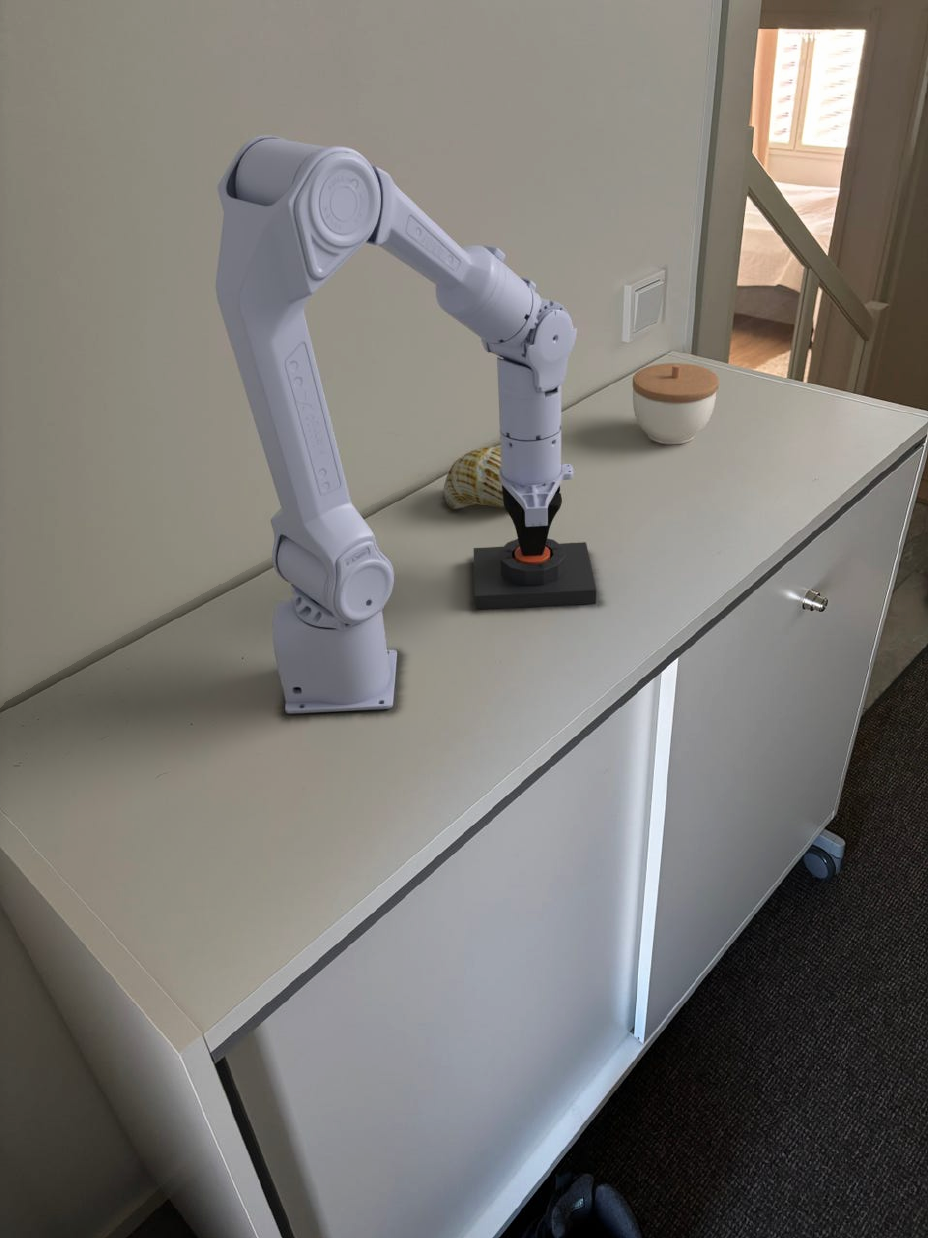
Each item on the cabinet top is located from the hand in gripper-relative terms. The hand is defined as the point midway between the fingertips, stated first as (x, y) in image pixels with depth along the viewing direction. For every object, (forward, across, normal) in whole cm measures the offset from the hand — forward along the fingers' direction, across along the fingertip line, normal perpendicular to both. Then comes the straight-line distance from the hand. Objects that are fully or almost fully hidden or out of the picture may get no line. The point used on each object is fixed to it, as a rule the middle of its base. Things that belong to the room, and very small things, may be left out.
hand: (532, 552), depth 93 cm
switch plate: (+4, 0, 0) cm, 4 cm away
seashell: (+4, +18, +4) cm, 18 cm away
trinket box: (+4, +33, -20) cm, 39 cm away
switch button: (+2, 0, 0) cm, 2 cm away
